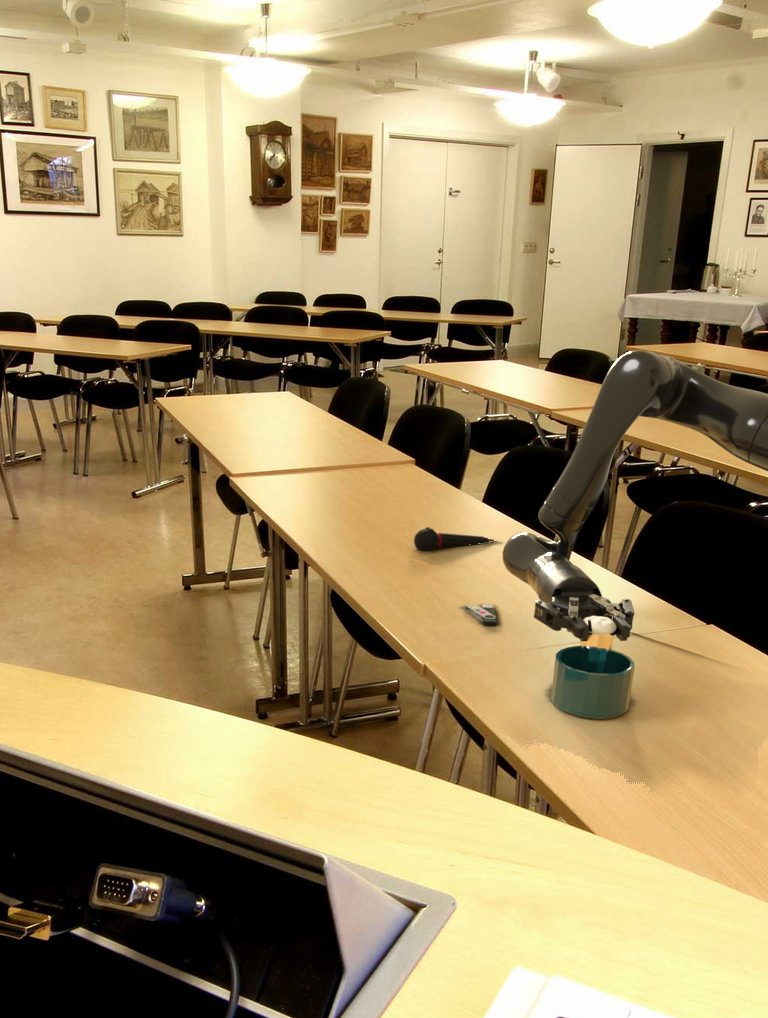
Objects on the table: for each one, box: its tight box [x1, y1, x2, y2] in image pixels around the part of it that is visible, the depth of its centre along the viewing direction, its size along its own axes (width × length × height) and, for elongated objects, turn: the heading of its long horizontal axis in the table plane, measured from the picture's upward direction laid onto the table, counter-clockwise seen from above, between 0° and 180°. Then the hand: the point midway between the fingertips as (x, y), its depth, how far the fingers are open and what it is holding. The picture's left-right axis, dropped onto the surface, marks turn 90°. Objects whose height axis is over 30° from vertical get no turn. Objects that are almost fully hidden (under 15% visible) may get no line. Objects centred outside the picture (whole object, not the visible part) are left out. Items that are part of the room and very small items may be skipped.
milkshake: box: [580, 616, 616, 674], centre depth 125 cm, size 5×5×10 cm
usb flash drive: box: [463, 603, 498, 627], centre depth 159 cm, size 9×5×1 cm, turn 168°
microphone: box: [413, 526, 495, 553], centre depth 197 cm, size 6×6×20 cm
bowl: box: [550, 645, 636, 720], centre depth 126 cm, size 10×10×6 cm
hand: (605, 634), depth 121 cm, fingers closed on milkshake, 4 cm apart
